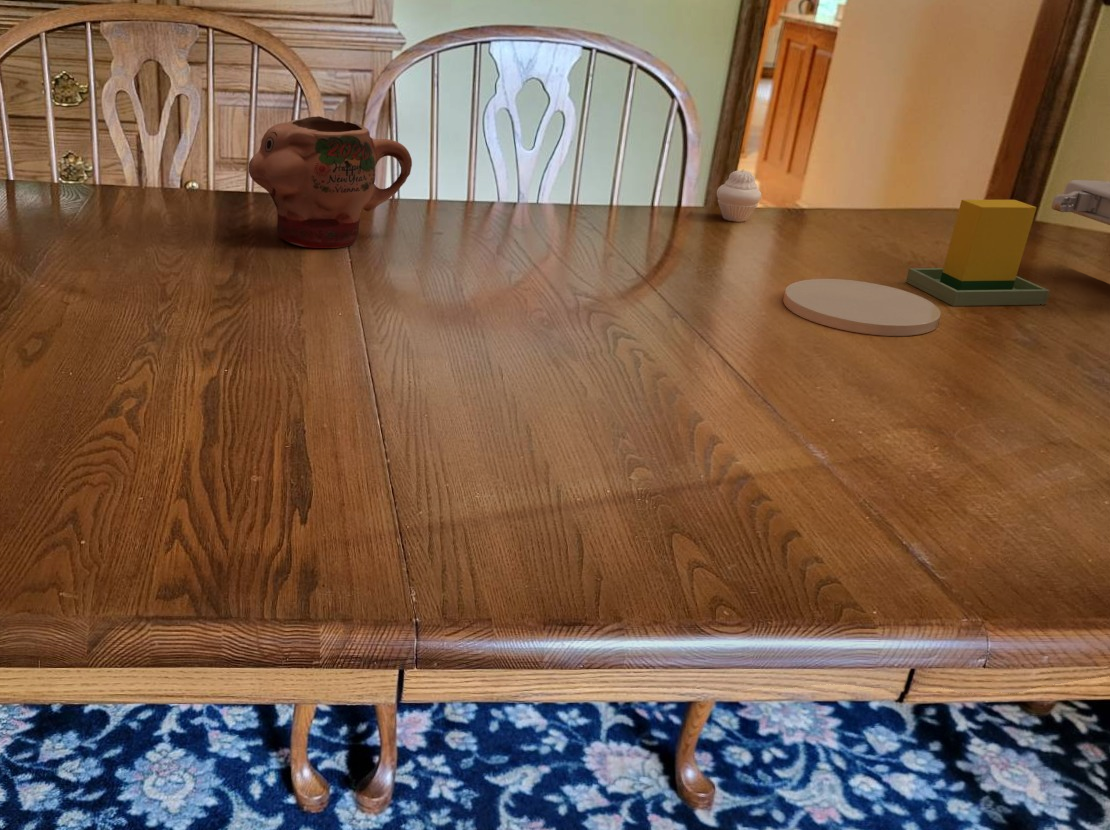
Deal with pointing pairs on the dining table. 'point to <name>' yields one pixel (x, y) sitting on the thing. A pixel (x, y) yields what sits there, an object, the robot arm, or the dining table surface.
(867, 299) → the plate
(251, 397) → the dining table surface
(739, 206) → the muffin
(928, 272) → the dish
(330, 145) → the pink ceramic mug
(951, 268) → the sponge
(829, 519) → the dining table surface
